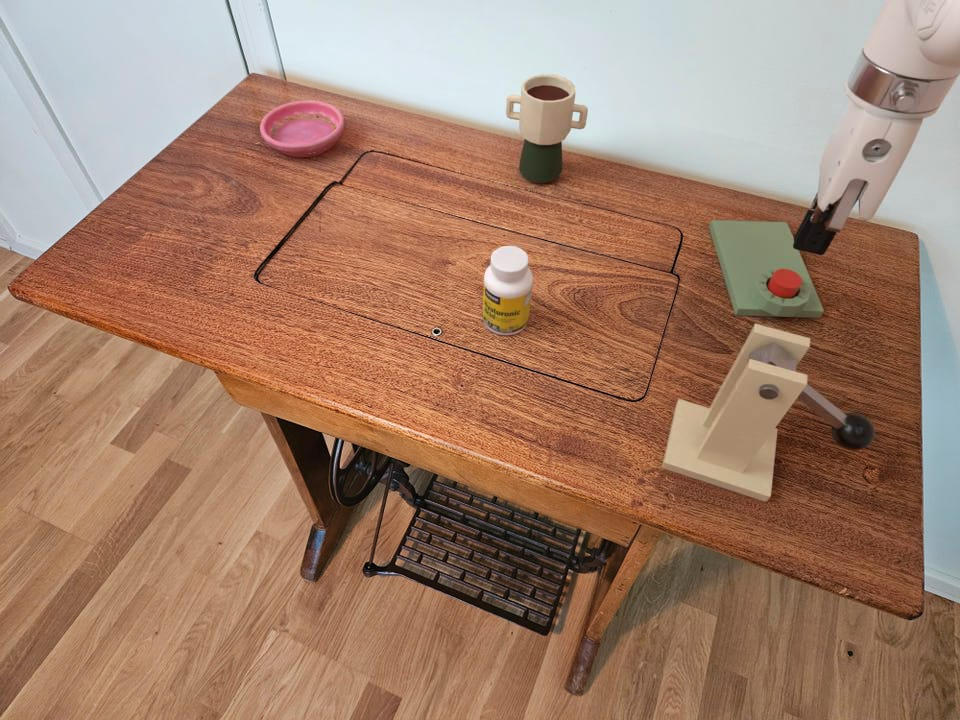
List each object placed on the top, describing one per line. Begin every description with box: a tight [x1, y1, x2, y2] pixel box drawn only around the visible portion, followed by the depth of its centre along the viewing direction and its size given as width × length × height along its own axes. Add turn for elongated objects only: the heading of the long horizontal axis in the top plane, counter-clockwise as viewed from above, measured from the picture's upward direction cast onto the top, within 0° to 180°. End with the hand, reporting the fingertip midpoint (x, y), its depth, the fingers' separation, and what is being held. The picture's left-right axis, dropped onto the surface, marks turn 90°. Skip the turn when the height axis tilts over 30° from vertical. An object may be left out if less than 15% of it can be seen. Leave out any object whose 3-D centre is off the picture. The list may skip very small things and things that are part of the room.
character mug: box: [505, 73, 589, 184], centre depth 85 cm, size 11×7×13 cm, turn 75°
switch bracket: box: [661, 323, 811, 503], centre depth 56 cm, size 10×8×16 cm
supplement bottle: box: [482, 245, 534, 336], centre depth 69 cm, size 5×5×10 cm
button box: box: [708, 219, 825, 319], centre depth 77 cm, size 17×10×3 cm, turn 178°
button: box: [768, 269, 802, 299], centre depth 72 cm, size 3×3×2 cm
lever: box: [748, 342, 876, 451], centre depth 52 cm, size 13×3×3 cm, turn 69°
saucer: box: [259, 99, 346, 158], centre depth 93 cm, size 12×12×3 cm
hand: (808, 247), depth 67 cm, fingers closed
